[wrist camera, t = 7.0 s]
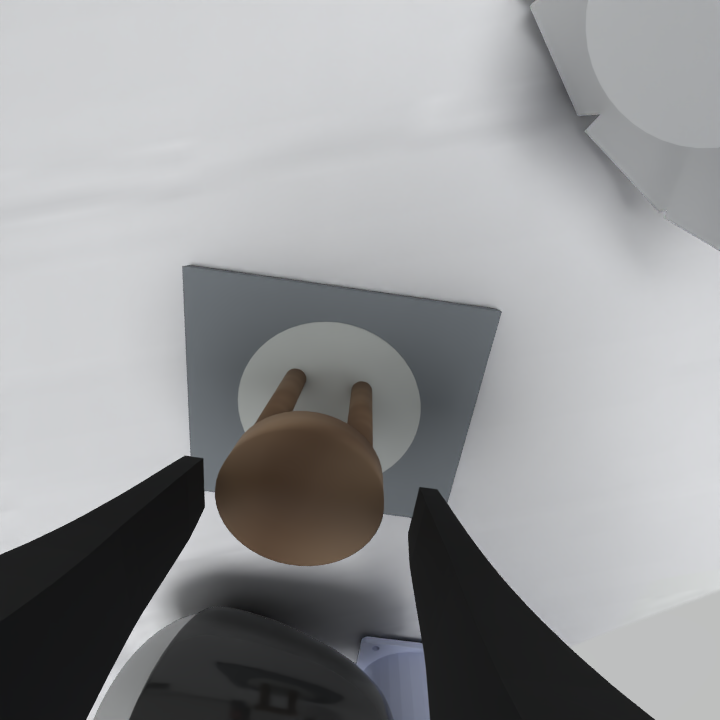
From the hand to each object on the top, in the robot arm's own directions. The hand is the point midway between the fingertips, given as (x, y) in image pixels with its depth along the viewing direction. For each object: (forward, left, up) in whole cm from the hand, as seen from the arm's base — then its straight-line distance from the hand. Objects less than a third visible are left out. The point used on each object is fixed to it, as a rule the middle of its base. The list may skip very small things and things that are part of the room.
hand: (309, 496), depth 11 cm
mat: (0, 0, -6) cm, 6 cm away
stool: (0, 0, -6) cm, 6 cm away
